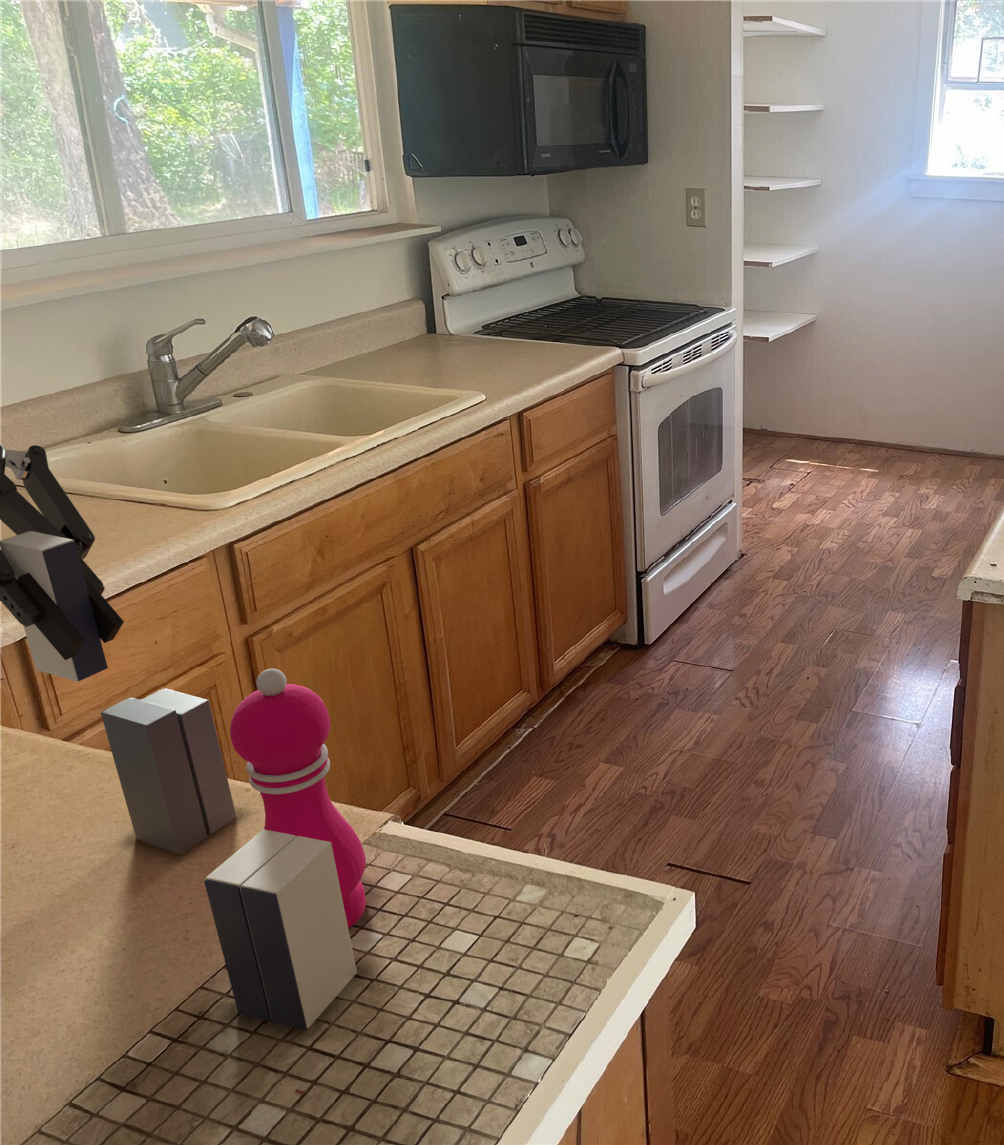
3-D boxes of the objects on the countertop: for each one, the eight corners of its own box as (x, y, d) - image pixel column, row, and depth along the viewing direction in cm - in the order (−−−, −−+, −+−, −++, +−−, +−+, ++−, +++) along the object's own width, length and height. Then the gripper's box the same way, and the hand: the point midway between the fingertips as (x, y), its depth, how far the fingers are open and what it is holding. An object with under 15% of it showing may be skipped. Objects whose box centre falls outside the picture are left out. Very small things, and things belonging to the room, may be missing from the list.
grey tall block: (239, 1020, 68) (202, 879, 64) (293, 963, 72) (262, 828, 68) (307, 1037, 66) (275, 894, 62) (358, 978, 71) (331, 841, 67)
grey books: (182, 860, 83) (146, 725, 78) (137, 844, 85) (99, 711, 80) (238, 822, 87) (207, 693, 83) (194, 808, 89) (162, 680, 84)
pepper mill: (375, 939, 74) (328, 686, 67) (262, 965, 72) (200, 706, 64) (373, 876, 81) (329, 638, 73) (269, 898, 78) (212, 655, 71)
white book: (79, 682, 83) (42, 550, 79) (35, 670, 85) (-3, 540, 81) (109, 669, 85) (74, 539, 81) (66, 657, 87) (30, 530, 83)
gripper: (-215, 399, 74) (5, 658, 74) (11, 358, 87) (198, 578, 87) (-230, 464, 78) (-21, 710, 78) (-12, 416, 91) (167, 626, 91)
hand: (94, 640), depth 83 cm, fingers closed on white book, 2 cm apart
